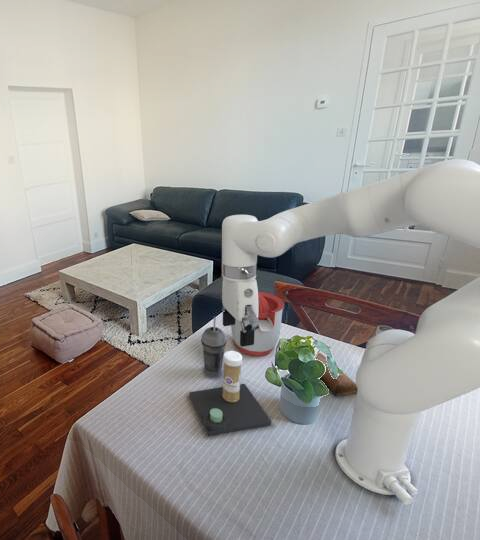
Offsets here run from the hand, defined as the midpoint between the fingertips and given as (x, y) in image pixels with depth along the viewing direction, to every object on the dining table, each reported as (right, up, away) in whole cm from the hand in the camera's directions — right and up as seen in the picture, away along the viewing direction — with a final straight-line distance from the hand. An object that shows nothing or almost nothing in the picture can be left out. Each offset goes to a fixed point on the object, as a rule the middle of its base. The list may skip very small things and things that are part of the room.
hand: (237, 334), depth 83 cm
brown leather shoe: (+31, -15, +15) cm, 37 cm away
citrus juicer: (+16, -10, +29) cm, 35 cm away
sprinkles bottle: (+1, -19, +8) cm, 20 cm away
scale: (-1, -21, +5) cm, 22 cm away
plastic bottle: (+37, -17, +6) cm, 41 cm away
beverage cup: (-1, -16, +20) cm, 25 cm away
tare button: (-5, -21, 0) cm, 21 cm away
